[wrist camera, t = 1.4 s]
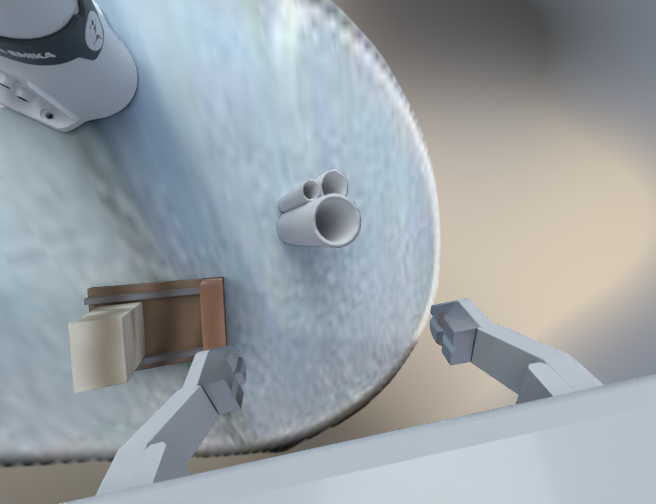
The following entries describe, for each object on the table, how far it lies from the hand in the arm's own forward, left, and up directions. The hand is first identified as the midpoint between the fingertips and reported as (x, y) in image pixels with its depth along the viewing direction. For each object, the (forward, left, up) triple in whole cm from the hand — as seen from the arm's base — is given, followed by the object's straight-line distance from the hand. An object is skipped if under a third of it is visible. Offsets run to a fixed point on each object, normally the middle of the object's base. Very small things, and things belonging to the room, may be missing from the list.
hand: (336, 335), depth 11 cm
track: (-10, -12, -39) cm, 42 cm away
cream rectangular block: (-15, -13, -37) cm, 42 cm away
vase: (+6, +10, -39) cm, 41 cm away
